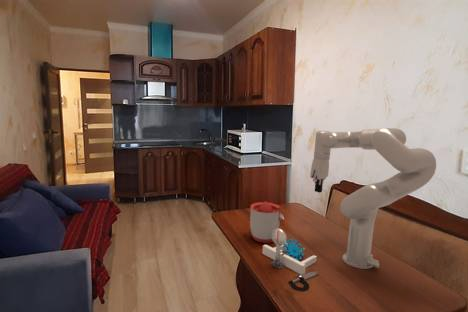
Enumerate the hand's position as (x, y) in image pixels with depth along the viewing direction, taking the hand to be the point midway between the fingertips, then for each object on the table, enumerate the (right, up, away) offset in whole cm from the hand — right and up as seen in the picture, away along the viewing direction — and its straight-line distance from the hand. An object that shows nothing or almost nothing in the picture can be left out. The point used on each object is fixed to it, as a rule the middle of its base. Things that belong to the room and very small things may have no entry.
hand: (318, 191), depth 143 cm
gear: (-15, -28, -14) cm, 35 cm away
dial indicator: (-23, -29, -21) cm, 42 cm away
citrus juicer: (-26, -25, +4) cm, 36 cm away
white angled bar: (-17, -28, -16) cm, 37 cm away
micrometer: (-14, -32, -33) cm, 48 cm away
